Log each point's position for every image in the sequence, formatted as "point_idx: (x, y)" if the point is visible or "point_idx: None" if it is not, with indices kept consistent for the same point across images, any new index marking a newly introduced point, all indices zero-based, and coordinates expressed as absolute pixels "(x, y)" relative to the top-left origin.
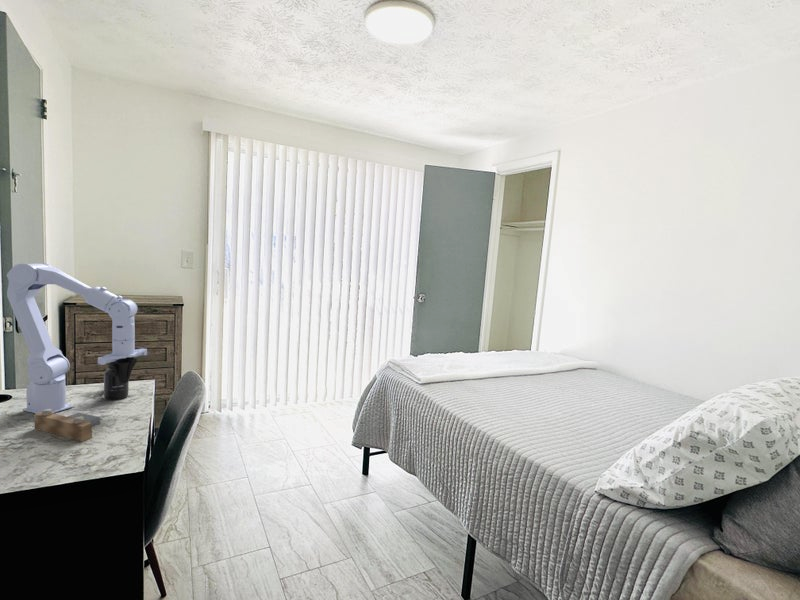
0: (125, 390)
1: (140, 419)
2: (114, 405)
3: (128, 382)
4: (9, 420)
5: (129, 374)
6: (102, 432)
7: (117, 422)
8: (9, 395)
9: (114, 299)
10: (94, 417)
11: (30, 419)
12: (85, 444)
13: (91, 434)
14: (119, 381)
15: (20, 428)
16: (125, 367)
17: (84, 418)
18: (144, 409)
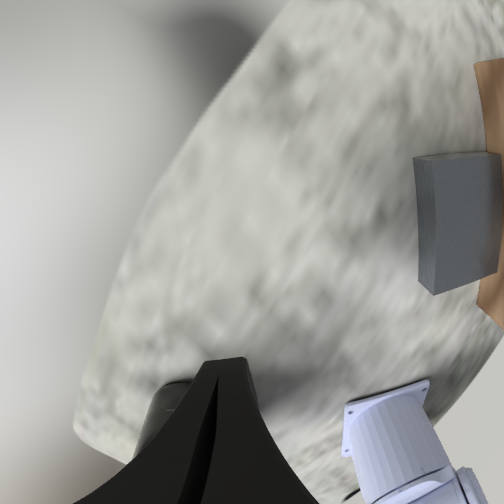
0: (165, 405)
1: (272, 52)
2: (245, 338)
3: (141, 434)
4: (462, 390)
5: (184, 410)
6: (441, 68)
7: (362, 108)
8: (346, 498)
9: None
10: (445, 177)
11: (450, 373)
12: (492, 43)
13: (482, 62)
14: (256, 400)
15: (496, 323)
16: (253, 500)
17: (465, 203)
18: (178, 176)
